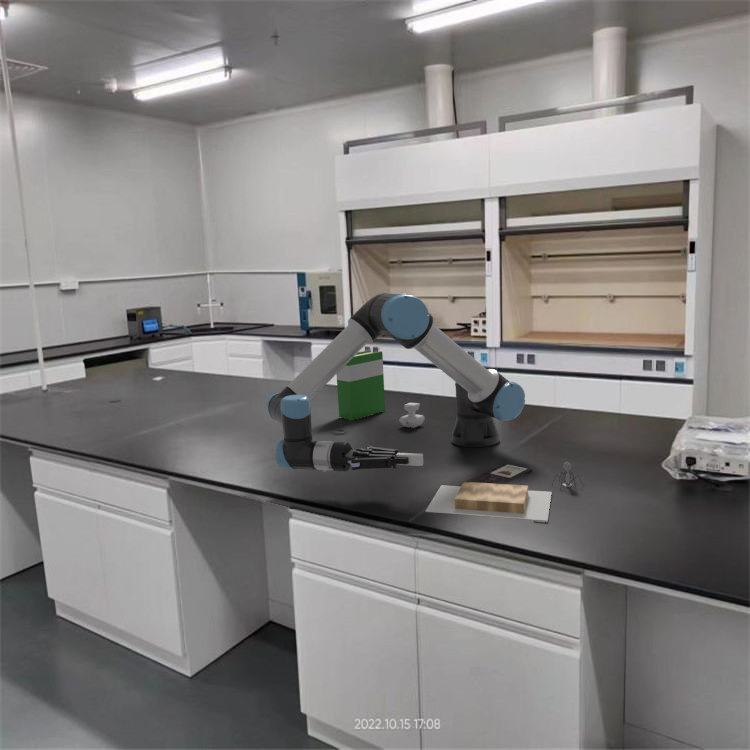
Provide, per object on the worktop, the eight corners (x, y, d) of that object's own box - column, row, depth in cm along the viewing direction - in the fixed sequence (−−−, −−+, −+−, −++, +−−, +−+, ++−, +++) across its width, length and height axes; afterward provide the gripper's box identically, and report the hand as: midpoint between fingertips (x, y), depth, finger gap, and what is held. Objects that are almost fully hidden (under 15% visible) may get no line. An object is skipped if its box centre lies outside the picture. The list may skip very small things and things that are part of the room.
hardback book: (372, 408, 261) (369, 350, 257) (385, 411, 256) (382, 351, 251) (339, 417, 249) (335, 356, 245) (352, 420, 244) (348, 357, 239)
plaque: (463, 481, 164) (528, 485, 159) (463, 490, 165) (528, 494, 160) (454, 499, 153) (523, 503, 148) (454, 508, 153) (523, 513, 148)
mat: (441, 487, 170) (441, 485, 170) (551, 493, 161) (551, 491, 161) (425, 513, 153) (425, 511, 153) (547, 522, 144) (547, 520, 144)
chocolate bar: (466, 481, 171) (503, 463, 184) (466, 484, 171) (504, 466, 184) (495, 488, 165) (532, 469, 178) (495, 492, 165) (532, 472, 178)
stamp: (411, 422, 236) (410, 400, 235) (427, 424, 232) (426, 401, 231) (397, 428, 229) (396, 405, 228) (412, 430, 225) (411, 407, 224)
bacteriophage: (547, 488, 165) (547, 463, 164) (562, 479, 171) (562, 455, 170) (572, 494, 161) (572, 468, 159) (587, 484, 166) (587, 459, 165)
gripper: (343, 462, 174) (429, 465, 167) (325, 478, 162) (416, 483, 155) (341, 435, 173) (427, 437, 165) (323, 449, 161) (415, 453, 153)
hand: (422, 459), depth 160 cm, fingers closed
